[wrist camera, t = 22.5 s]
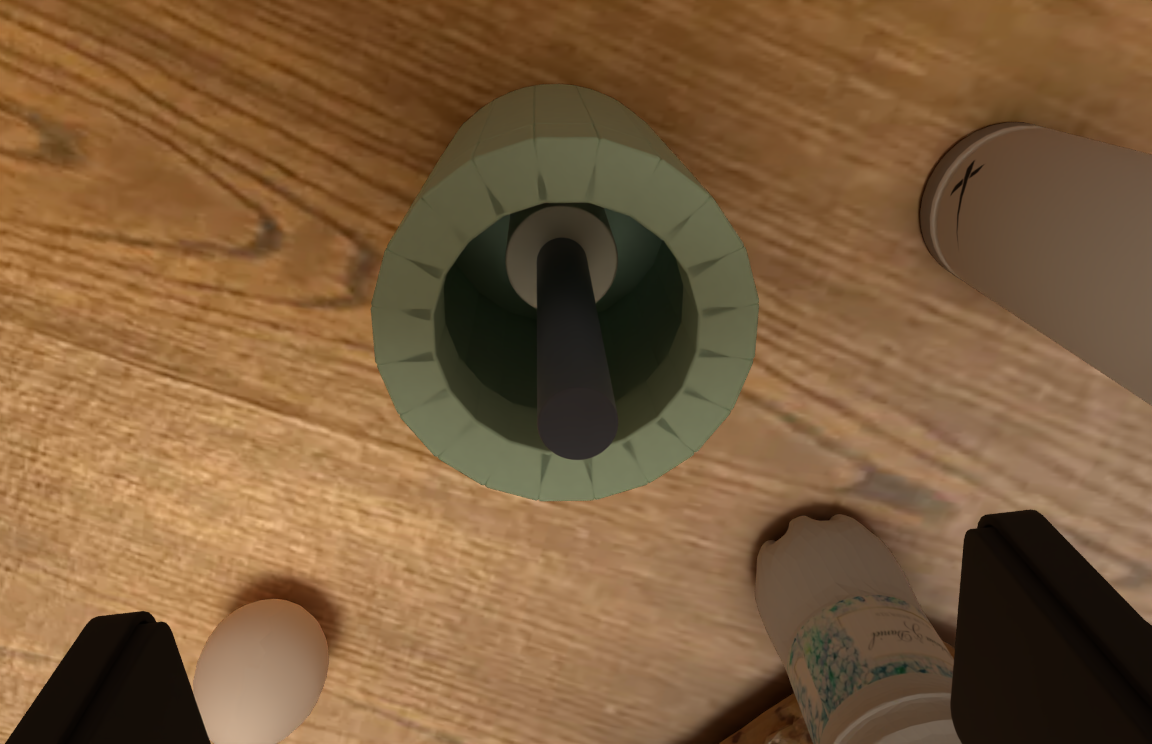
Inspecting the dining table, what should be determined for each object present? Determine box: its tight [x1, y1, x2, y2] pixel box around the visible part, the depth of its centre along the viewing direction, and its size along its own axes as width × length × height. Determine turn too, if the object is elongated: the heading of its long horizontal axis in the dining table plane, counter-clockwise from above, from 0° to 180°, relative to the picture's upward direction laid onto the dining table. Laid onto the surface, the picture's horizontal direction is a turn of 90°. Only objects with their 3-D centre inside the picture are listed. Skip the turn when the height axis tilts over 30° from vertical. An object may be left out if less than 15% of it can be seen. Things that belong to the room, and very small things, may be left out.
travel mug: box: [920, 122, 1152, 406], centre depth 26 cm, size 6×7×20 cm
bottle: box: [755, 514, 962, 744], centre depth 32 cm, size 7×7×20 cm
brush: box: [505, 203, 618, 460], centre depth 26 cm, size 4×4×18 cm
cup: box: [371, 84, 759, 501], centre depth 29 cm, size 9×9×14 cm
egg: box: [193, 599, 329, 744], centre depth 38 cm, size 5×5×7 cm
